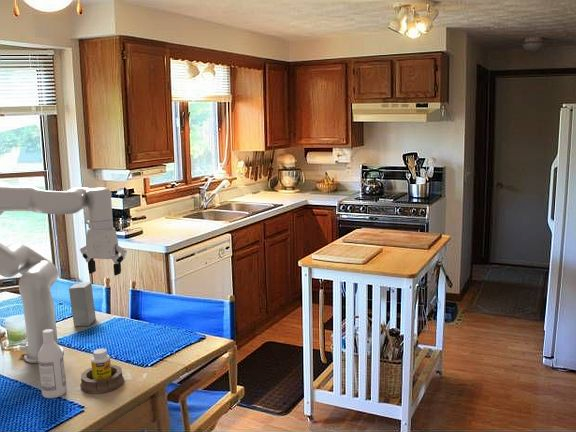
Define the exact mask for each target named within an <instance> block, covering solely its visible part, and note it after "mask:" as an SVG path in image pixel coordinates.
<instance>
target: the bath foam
mask: <svg viewBox="0 0 576 432" xmlns="http://www.w3.org/2000/svg"><path fill="white" fill-rule="evenodd" d="M42 333H43V342H44V343H43V345H42V347H41V349H40V351H39V354H38V363H37V365H38V371H39V372H38V373H39V381H40V389H41V395H42V397H44V398H45V399H46V398H47V399H55V398H59V397H61V396H63V395H64V394H65V393H66V392H67V381H66V370H65V361H64V352H63V353H62V350H61V348H60V347H61V346H60V345H59V344H58V345H57V344H56V343H55V341H54V335H53V330H52V329H46V330H44V331H43V332H42ZM59 346H60V347H59Z"/></svg>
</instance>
